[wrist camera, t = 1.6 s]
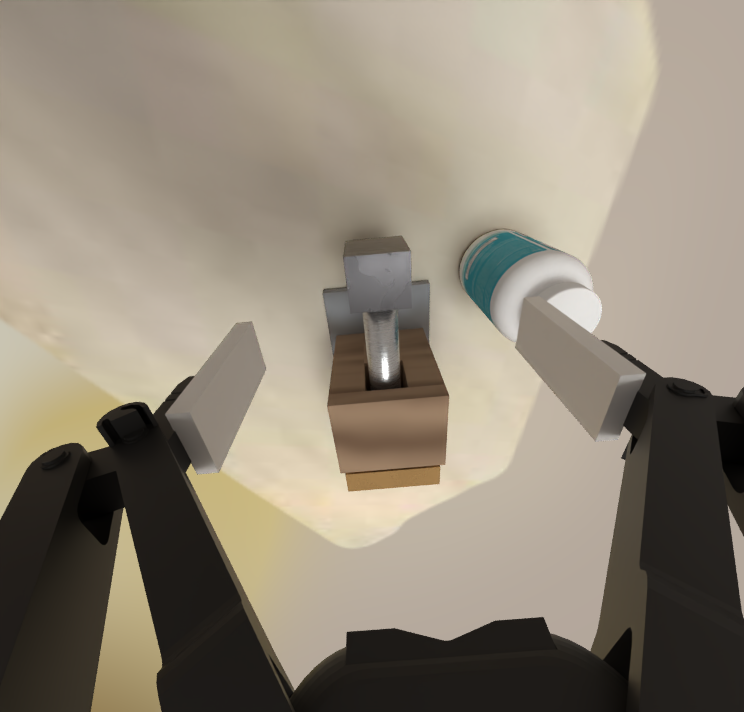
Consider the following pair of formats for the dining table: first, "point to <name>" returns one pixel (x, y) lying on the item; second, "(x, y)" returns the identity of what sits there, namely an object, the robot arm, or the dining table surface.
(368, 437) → the bearing block
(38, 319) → the dining table surface
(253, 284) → the dining table surface
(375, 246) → the shaft
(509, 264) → the pill bottle
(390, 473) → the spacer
